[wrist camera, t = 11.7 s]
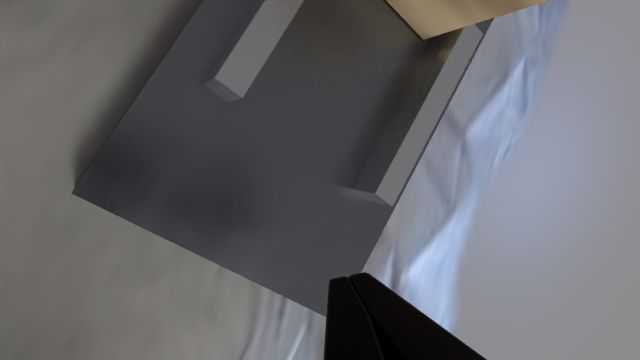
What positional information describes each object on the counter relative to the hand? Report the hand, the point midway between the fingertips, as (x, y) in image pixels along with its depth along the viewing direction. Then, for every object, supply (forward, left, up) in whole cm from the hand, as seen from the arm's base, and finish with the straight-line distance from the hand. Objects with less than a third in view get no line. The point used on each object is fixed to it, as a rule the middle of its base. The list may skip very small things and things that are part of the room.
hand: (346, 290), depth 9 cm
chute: (+7, -4, -11) cm, 14 cm away
